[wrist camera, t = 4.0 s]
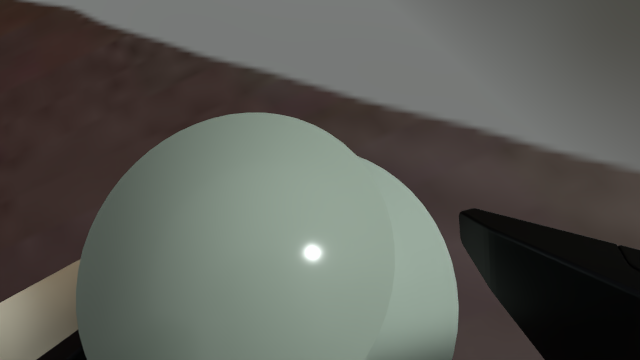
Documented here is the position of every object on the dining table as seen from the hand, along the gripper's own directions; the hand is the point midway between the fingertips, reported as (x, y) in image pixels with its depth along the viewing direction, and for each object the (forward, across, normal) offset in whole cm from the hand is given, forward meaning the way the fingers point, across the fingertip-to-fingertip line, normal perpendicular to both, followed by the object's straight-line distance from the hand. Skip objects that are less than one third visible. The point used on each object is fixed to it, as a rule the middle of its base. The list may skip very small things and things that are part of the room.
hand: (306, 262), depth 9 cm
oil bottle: (+4, 0, +6) cm, 7 cm away
